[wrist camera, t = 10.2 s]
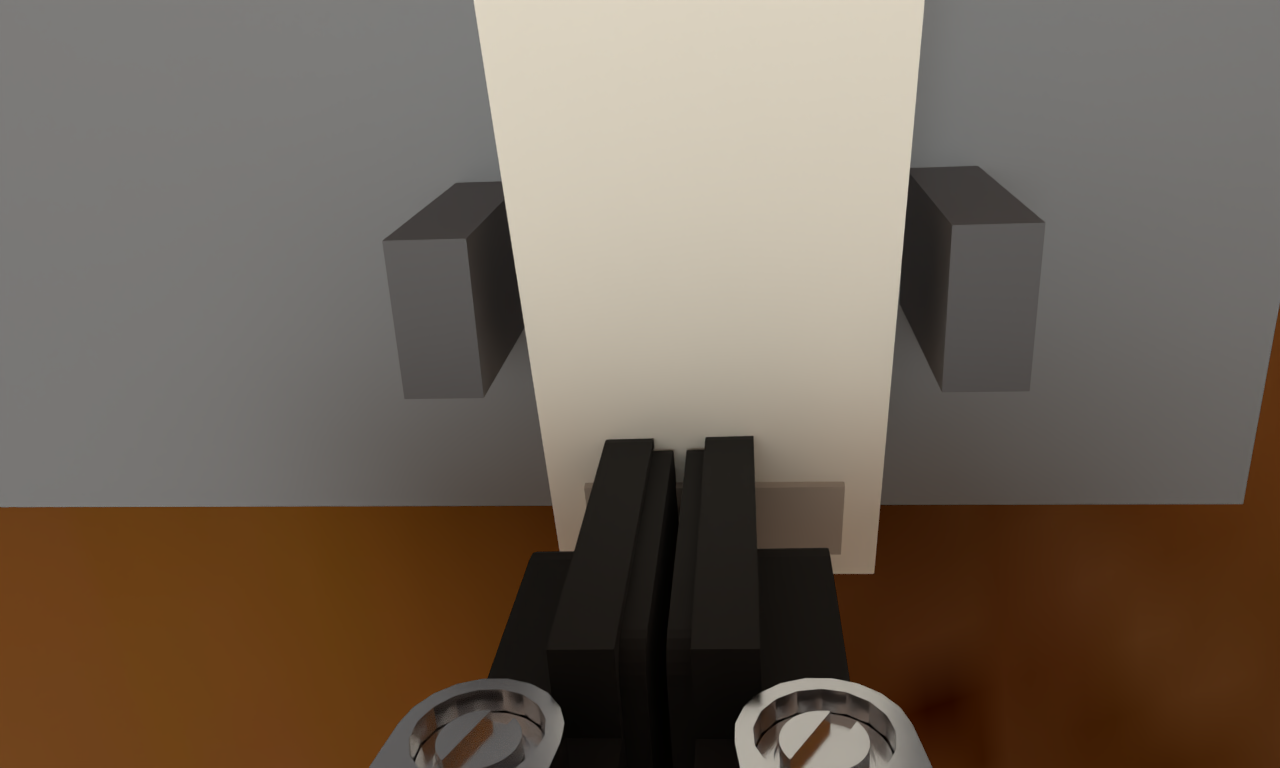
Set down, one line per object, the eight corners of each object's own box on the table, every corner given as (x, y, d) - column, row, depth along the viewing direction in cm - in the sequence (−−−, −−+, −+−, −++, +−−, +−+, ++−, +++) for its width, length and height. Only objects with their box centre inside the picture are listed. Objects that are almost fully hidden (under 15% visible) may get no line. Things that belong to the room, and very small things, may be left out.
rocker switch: (913, -107, 9) (932, -75, 8) (865, 513, 13) (875, 579, 12) (488, -82, 9) (463, -50, 8) (572, 514, 13) (562, 578, 12)
